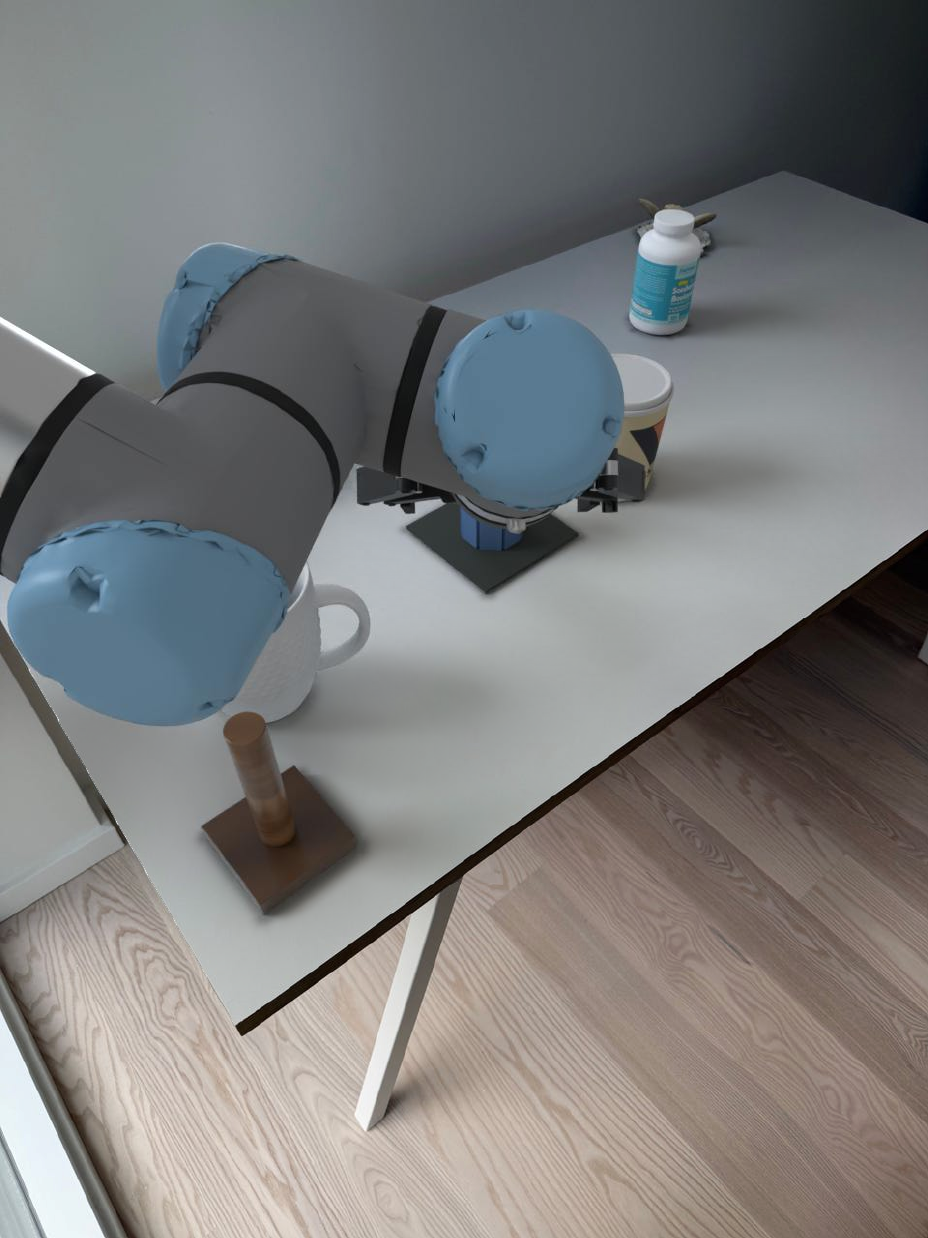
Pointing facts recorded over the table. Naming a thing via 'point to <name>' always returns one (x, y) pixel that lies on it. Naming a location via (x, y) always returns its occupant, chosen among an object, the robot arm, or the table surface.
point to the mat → (488, 565)
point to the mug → (298, 651)
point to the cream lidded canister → (642, 408)
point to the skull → (699, 220)
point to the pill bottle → (665, 274)
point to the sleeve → (486, 534)
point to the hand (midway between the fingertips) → (496, 495)
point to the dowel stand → (273, 821)
